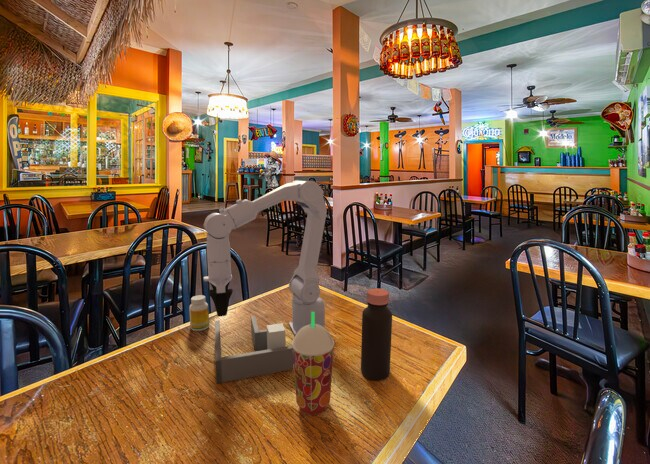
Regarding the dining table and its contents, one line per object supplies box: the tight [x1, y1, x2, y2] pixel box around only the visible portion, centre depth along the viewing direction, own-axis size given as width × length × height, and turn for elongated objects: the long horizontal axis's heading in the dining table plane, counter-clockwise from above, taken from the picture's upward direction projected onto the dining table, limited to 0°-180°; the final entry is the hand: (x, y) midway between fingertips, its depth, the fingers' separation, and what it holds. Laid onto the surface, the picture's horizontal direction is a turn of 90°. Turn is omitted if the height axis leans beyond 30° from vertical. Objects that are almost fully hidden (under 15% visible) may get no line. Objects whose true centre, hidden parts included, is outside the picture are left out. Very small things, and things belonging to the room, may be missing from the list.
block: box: [266, 322, 287, 350], centre depth 82 cm, size 4×4×8 cm
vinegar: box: [360, 287, 393, 382], centre depth 75 cm, size 7×7×20 cm
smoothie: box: [291, 312, 335, 416], centre depth 65 cm, size 8×8×20 cm
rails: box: [214, 315, 294, 384], centre depth 85 cm, size 18×21×6 cm
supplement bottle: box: [188, 294, 210, 332], centre depth 98 cm, size 5×5×10 cm
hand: (221, 309), depth 87 cm, fingers open, 7 cm apart
